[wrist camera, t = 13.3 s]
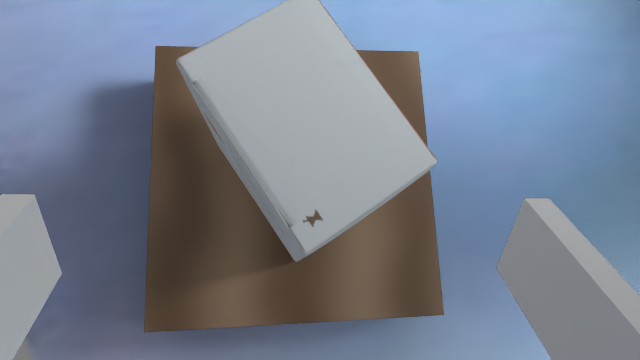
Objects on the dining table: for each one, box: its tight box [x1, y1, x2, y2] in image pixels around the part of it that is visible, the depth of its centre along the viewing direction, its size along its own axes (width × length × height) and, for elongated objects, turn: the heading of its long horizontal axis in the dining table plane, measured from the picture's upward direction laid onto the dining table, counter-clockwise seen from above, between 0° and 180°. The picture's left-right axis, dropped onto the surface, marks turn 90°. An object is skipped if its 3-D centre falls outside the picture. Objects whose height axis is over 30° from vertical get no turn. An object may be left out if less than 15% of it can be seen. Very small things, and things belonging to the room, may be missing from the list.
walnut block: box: [144, 46, 444, 332], centre depth 27 cm, size 16×16×5 cm
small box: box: [176, 0, 438, 262], centre depth 19 cm, size 8×6×10 cm
